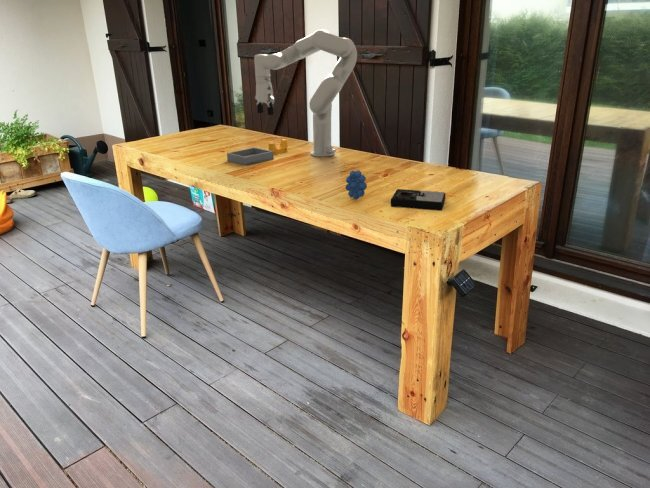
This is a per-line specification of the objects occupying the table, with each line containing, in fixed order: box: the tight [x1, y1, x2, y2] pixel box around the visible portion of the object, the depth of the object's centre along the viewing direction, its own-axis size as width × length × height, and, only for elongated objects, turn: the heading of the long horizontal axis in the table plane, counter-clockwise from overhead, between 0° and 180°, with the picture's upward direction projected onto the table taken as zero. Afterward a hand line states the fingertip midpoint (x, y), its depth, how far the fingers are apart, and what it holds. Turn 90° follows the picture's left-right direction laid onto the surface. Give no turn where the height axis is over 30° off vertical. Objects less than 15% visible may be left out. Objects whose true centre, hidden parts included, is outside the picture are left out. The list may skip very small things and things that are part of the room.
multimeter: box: [390, 188, 446, 211], centre depth 202 cm, size 13×19×5 cm
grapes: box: [345, 169, 368, 200], centre depth 207 cm, size 12×7×12 cm, turn 37°
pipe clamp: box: [268, 138, 288, 156], centre depth 285 cm, size 12×4×6 cm, turn 144°
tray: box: [226, 146, 274, 166], centre depth 271 cm, size 15×18×4 cm
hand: (265, 113), depth 278 cm, fingers open, 9 cm apart
